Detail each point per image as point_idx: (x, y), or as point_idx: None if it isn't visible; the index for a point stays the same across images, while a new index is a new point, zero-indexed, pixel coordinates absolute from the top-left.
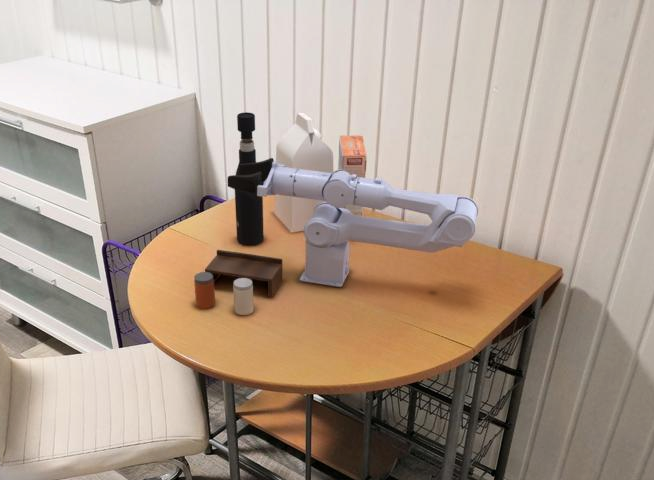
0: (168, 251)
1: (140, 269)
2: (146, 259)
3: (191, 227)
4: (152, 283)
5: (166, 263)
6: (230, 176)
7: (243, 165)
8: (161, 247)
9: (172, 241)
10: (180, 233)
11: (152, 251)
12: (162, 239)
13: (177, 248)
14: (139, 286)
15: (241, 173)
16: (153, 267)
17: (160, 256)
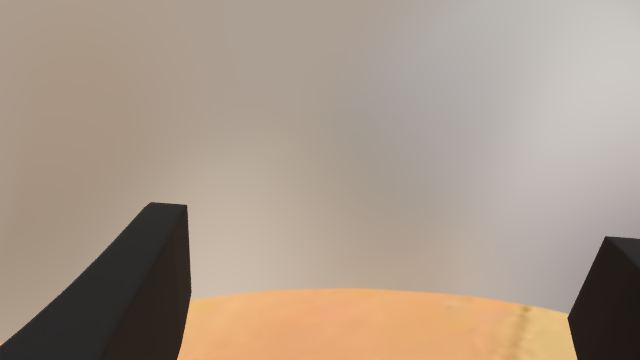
0: (364, 334)
1: (213, 297)
2: (287, 292)
3: None
4: None
5: (271, 354)
6: (137, 216)
7: (631, 272)
8: (385, 307)
9: (443, 324)
10: (516, 330)
11: (347, 292)
12: (443, 294)
13: (399, 354)
14: None
15: (582, 328)
16: (233, 326)
17: (319, 322)
